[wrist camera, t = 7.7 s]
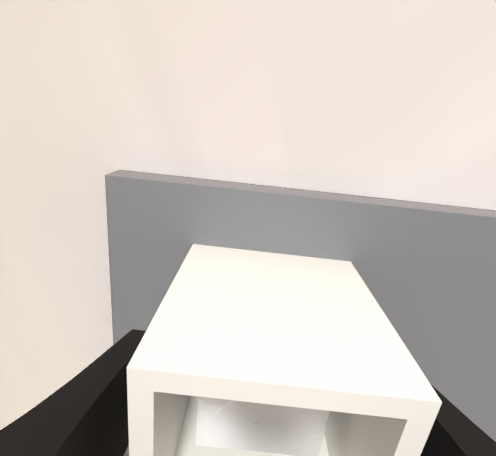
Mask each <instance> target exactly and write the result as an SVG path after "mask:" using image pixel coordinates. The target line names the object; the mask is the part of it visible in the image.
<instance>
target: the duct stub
mask: <svg viewBox="0 0 496 456" xmlns="http://www.w3.org/2000/svg"><path fill="white" fill-rule="evenodd" d="M329 412H330V411H326V410H316V409H307V408H298V407H289V406H280V405H271V404H262V403H253V402H244V401H235V400H226V399H216V398H207V397H199V398H198V413H197V428H196V444H195V445H200V446H210V447H219V448H228V449H238V450H247V451H257V452H266V453H275V454H285V455H294V456H318V455H319V451H320V448H321V444H322V440H323V436H324V432H325V428H326V424H327V420H328V416H329Z"/></svg>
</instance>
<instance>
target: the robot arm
mask: <svg viewBox="0 0 496 456" xmlns="http://www.w3.org/2000/svg"><path fill="white" fill-rule="evenodd" d="M145 332H146V331H144V330H135V329H132V330H131V331H129V332H128V333H127V334H126V335H124V336H123V337H122V338H121V339H120V340H119V341H117V342H116V343H115V344H114V345H113V346H112V347H110V348H109V349H108V350H107V351H106V352H105V353H103V354H102V355H101V356H100V357H99V358H97V359H96V360H95V361H94V362H93V363H91V364H90V365H89V366H88V367H86V368H85V369H84V370H83V371H82V372H80V373H79V374H78V375H77V376H75V377H74V378H73V379H72V380H70V381H69V382H68V383H66V384H65V385H64V386H62V387H61V388H60V389H58V390H57V391H56V392H54V393H53V394H52V395H50V396H49V397H48V398H46V399H45V400H44V401H42V402H41V403H40V404H38V405H37V406H36V407H34V408H33V409H31V410H30V411H28V412H27V413H26V414H24V415H23V416H21V417H20V418H18V419H17V420H15V421H14V422H13V423H11V424H9V425H8V426H6V427H5V428H3V429H2V430H0V456H124V454H125V452H126V449H127V447H128V445H129V434H128V400H127V366H128V364H129V362H130V360H131V358H132V357H133V355H134V353H135V351H136V349H137V347H138V345H139V343H140V342H141V340H142V338H143V336H144V334H145ZM431 386H432V387H433V389H434V390H435V392H436V394H437V395H438V397H439V398H440V400H441V401H442V404H441V407H440V409H439V412H438V414H437V416H436V419H435V421H434V424H433V426H432V428H431V431H430V433H429V436H428V438H427V440H426V443H425V445H424V448H423V450H422V453H421V455H420V456H496V442H495V441H494V440H493V439H492V438H490V437H489V436H488V435H487V434H486V433H485V432H484V431H482V430H481V429H480V428H479V427H478V426H477V425H476V424H474V423H473V422H472V421H471V420H470V419H469V418H468V417H467V416H465V415H464V414H463V413H462V412H461V411H460V410H459V409H458V408H457V407H455V406H454V405H453V404H452V403H451V402H450V401H449V400H448V399H447V398H446V397H445V396H443V395H442V394H441V393H440V392H439V391H438V390H437V389H436V388H435V387H434V386H433V385H432V384H431Z"/></svg>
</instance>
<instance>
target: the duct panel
mask: <svg viewBox="0 0 496 456" xmlns="http://www.w3.org/2000/svg"><path fill="white" fill-rule="evenodd" d="M105 184H106V204H107V224H108V244H109V264H110V284H111V304H112V324H113V344H115V343H116V342H117V341H119V340H120V339H121V338H122V337H123V336H124V335H126V334H127V333H128V332H129V331H131V330H132V329H135V330H144V331H146V330H147V329H148V327H149V325H150V323H151V321H152V319H153V317H154V316H155V314H156V312H157V310H158V308H159V306H160V304H161V302H162V301H163V299H164V297H165V295H166V293H167V291H168V289H169V288H170V286H171V284H172V282H173V280H174V278H175V276H176V274H177V273H178V271H179V269H180V267H181V265H182V263H183V261H184V260H185V258H186V256H187V254H188V252H189V250H190V248H191V247H192V245H193V244H198V245H207V246H216V247H225V248H234V249H243V250H252V251H261V252H270V253H279V254H288V255H297V256H306V257H315V258H324V259H333V260H342V261H351V263H352V264H353V266H354V267H355V269H356V270H357V272H358V274H359V275H360V277H361V278H362V280H363V281H364V283H365V284H366V286H367V287H368V289H369V290H370V292H371V294H372V295H373V297H374V298H375V300H376V301H377V303H378V304H379V306H380V307H381V309H382V310H383V312H384V314H385V315H386V317H387V318H388V320H389V321H390V323H391V324H392V326H393V327H394V329H395V330H396V332H397V334H398V335H399V337H400V338H401V340H402V341H403V343H404V344H405V346H406V347H407V349H408V350H409V352H410V354H411V355H412V357H413V358H414V360H415V361H416V363H417V364H418V366H419V367H420V369H421V370H422V372H423V374H424V375H425V377H426V378H427V380H428V381H429V383H430V384H432V385H433V386H434V387H435V388H436V389H437V390H438V391H439V392H440V393H441V394H442V395H443V396H445V397H446V398H447V399H448V400H449V401H450V402H451V403H452V404H453V405H454V406H455V407H457V408H458V409H459V410H460V411H461V412H462V413H463V414H464V415H465V416H467V417H468V418H469V419H470V420H471V421H472V422H473V423H474V424H476V425H477V426H478V427H479V428H480V429H481V430H482V431H484V432H485V433H486V434H487V435H488V436H489V437H490V438H492V439H493V440H494V441H495V442H496V211H494V210H485V209H476V208H467V207H457V206H448V205H439V204H430V203H420V202H411V201H402V200H393V199H384V198H374V197H365V196H356V195H347V194H337V193H328V192H319V191H310V190H301V189H291V188H282V187H273V186H264V185H254V184H245V183H236V182H227V181H218V180H208V179H199V178H190V177H181V176H171V175H162V174H153V173H144V172H135V171H125V170H118V171H116V172H113V173H110V174H107V175H105ZM124 456H129V445H128V447H127V449H126V452H125V454H124Z"/></svg>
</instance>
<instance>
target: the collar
mask: <svg viewBox="0 0 496 456" xmlns="http://www.w3.org/2000/svg"><path fill="white" fill-rule="evenodd" d="M199 397H207V398H216V399H226V400H235V401H244V402H253V403H262V404H271V405H280V406H289V407H298V408H307V409H316V410H326V411H330V412H329V416H328V420H327V424H326V428H325V432H324V436H323V440H322V444H321V448H320V451H319V455H318V456H420V455H421V453H422V450H423V448H424V445H425V443H426V440H427V438H428V436H429V433H430V431H431V428H432V426H433V424H434V421H435V419H436V416H437V414H438V412H439V409H440V407H441V404H442V401H441V400H440V398H439V397H438V395H437V394H436V392H435V390H434V389H433V387H432V386H431V384H430V383H429V381H428V380H427V378H426V377H425V375H424V374H423V372H422V370H421V369H420V367H419V366H418V364H417V363H416V361H415V360H414V358H413V357H412V355H411V354H410V352H409V350H408V349H407V347H406V346H405V344H404V343H403V341H402V340H401V338H400V337H399V335H398V334H397V332H396V330H395V329H394V327H393V326H392V324H391V323H390V321H389V320H388V318H387V317H386V315H385V314H384V312H383V310H382V309H381V307H380V306H379V304H378V303H377V301H376V300H375V298H374V297H373V295H372V294H371V292H370V290H369V289H368V287H367V286H366V284H365V283H364V281H363V280H362V278H361V277H360V275H359V274H358V272H357V270H356V269H355V267H354V266H353V264H352V263H351V261H342V260H333V259H324V258H315V257H306V256H297V255H288V254H279V253H270V252H261V251H252V250H243V249H234V248H225V247H216V246H207V245H198V244H193V245H192V247H191V248H190V250H189V252H188V254H187V256H186V258H185V260H184V261H183V263H182V265H181V267H180V269H179V271H178V273H177V274H176V276H175V278H174V280H173V282H172V284H171V286H170V288H169V289H168V291H167V293H166V295H165V297H164V299H163V301H162V302H161V304H160V306H159V308H158V310H157V312H156V314H155V316H154V317H153V319H152V321H151V323H150V325H149V327H148V329H147V330H146V332H145V334H144V336H143V338H142V340H141V342H140V343H139V345H138V347H137V349H136V351H135V353H134V355H133V357H132V358H131V360H130V362H129V364H128V366H127V400H128V434H129V456H294V455H285V454H275V453H266V452H257V451H247V450H238V449H228V448H219V447H210V446H200V445H195V444H196V428H197V413H198V398H199Z"/></svg>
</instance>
